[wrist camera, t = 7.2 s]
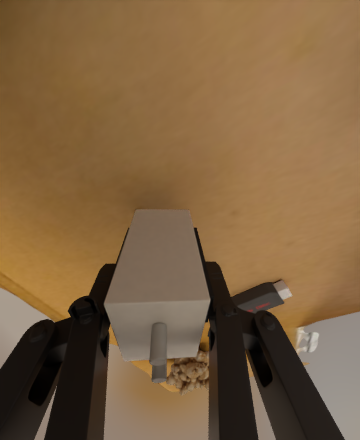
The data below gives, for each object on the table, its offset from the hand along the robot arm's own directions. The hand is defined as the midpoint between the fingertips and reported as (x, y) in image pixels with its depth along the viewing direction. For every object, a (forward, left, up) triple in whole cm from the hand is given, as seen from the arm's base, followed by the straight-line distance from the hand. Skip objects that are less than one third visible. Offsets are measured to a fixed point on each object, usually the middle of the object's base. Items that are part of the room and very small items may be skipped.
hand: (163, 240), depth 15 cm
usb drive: (+19, -21, -8) cm, 30 cm away
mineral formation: (+7, -49, -8) cm, 51 cm away
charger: (0, 0, 0) cm, 0 cm away
